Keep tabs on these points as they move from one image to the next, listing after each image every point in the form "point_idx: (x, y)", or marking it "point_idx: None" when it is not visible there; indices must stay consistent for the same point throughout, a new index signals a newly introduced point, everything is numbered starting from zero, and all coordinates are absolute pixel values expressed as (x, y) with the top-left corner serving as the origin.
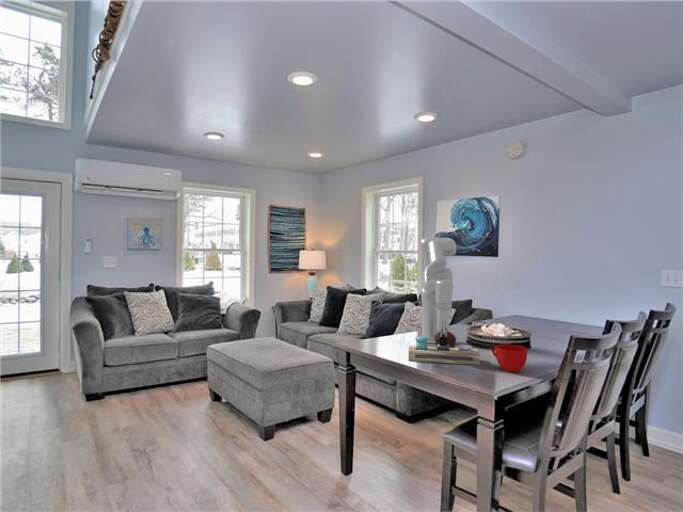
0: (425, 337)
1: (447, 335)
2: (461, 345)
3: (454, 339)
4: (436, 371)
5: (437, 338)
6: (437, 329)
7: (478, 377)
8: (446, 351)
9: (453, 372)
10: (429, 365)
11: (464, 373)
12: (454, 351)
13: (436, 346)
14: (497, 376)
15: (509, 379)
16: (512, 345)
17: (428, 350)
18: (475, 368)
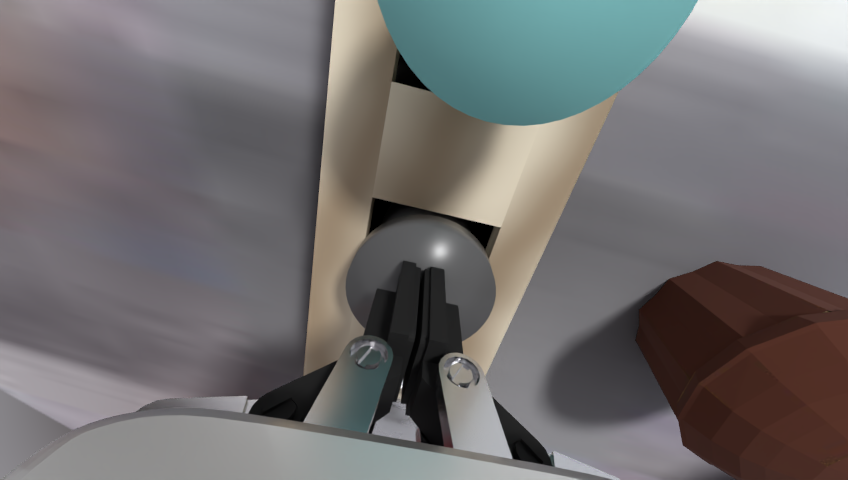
0: (547, 67)
1: (763, 449)
2: (405, 428)
3: (692, 450)
4: (61, 71)
5: (817, 336)
6: (254, 446)
7: (52, 303)
8: (342, 275)
9: (94, 199)
10: (240, 57)
11: (102, 259)
12: (349, 335)
13: (775, 280)
14: (119, 383)
15: (90, 406)
16: None
17: (372, 88)
18: (241, 345)
